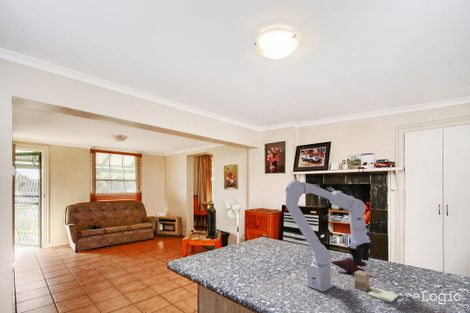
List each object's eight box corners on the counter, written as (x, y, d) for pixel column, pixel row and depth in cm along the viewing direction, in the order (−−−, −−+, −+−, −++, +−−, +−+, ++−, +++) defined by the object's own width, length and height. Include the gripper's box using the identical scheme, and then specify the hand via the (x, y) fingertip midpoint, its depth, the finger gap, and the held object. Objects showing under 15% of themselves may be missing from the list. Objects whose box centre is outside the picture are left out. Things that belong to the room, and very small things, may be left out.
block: (365, 291, 100) (364, 275, 100) (355, 288, 103) (354, 272, 103) (369, 288, 102) (369, 272, 103) (359, 285, 105) (358, 270, 106)
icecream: (332, 259, 119) (368, 265, 114) (331, 251, 125) (365, 257, 121) (330, 273, 120) (366, 280, 115) (330, 264, 127) (363, 270, 122)
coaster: (391, 303, 90) (391, 301, 90) (367, 295, 96) (367, 293, 96) (399, 296, 95) (399, 294, 95) (376, 289, 101) (376, 287, 101)
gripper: (361, 232, 97) (366, 269, 96) (374, 226, 108) (378, 259, 106) (343, 230, 102) (346, 266, 101) (357, 224, 113) (360, 257, 111)
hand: (361, 262), depth 104 cm, fingers open, 7 cm apart
